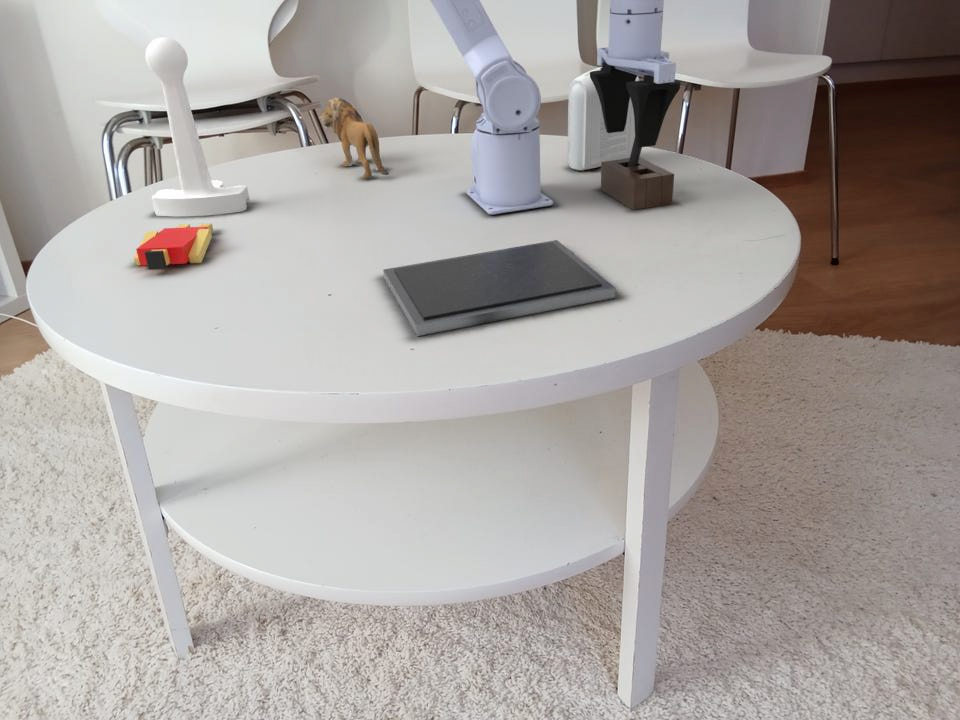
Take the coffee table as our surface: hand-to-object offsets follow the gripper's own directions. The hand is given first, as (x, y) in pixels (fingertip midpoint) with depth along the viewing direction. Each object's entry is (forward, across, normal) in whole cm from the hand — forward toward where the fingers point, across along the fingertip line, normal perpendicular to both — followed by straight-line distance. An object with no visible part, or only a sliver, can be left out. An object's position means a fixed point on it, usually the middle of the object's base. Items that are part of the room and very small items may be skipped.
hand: (630, 138), depth 91 cm
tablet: (+7, -20, +24) cm, 32 cm away
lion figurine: (+7, +27, +28) cm, 40 cm away
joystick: (+7, +19, +49) cm, 53 cm away
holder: (+6, -2, 0) cm, 7 cm away
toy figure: (+7, +3, +52) cm, 52 cm away
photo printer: (+7, +13, -3) cm, 15 cm away
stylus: (+6, 0, 0) cm, 6 cm away
